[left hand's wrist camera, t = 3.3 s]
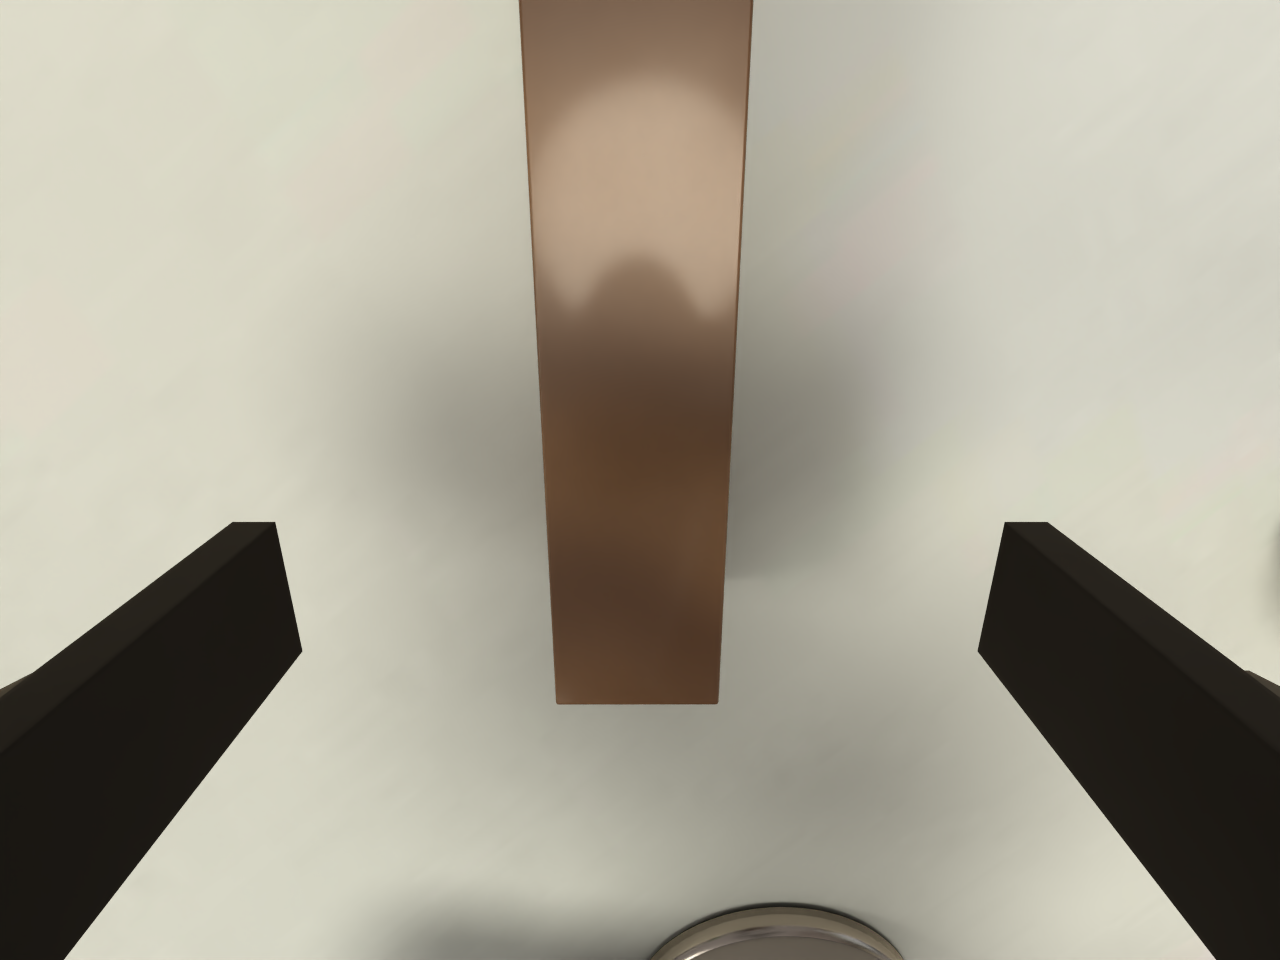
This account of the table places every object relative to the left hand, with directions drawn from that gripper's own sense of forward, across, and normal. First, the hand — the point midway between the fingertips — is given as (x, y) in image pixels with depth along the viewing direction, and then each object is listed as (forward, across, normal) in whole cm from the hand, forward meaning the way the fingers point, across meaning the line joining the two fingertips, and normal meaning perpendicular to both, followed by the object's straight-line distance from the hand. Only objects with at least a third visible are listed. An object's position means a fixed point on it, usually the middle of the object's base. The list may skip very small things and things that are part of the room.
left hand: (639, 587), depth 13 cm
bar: (+14, 0, -27) cm, 31 cm away
